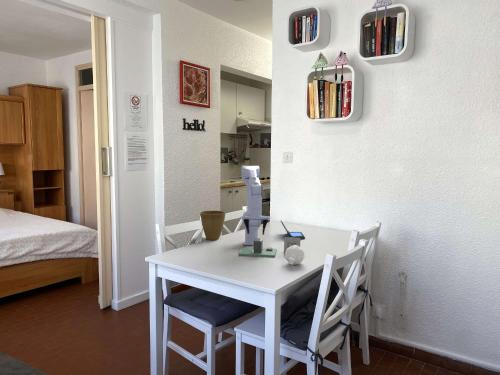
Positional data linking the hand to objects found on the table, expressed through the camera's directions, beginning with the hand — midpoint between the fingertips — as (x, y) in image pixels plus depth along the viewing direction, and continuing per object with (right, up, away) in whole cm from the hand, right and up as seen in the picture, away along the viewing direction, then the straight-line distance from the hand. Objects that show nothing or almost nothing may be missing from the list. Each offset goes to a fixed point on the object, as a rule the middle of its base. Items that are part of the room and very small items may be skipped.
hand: (255, 234), depth 197 cm
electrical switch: (+18, -10, 0) cm, 21 cm away
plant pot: (-25, -7, +30) cm, 39 cm away
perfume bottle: (+17, -12, -20) cm, 29 cm away
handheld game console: (+23, -6, +37) cm, 44 cm away
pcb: (+1, -10, -1) cm, 10 cm away
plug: (+1, -9, -1) cm, 9 cm away
